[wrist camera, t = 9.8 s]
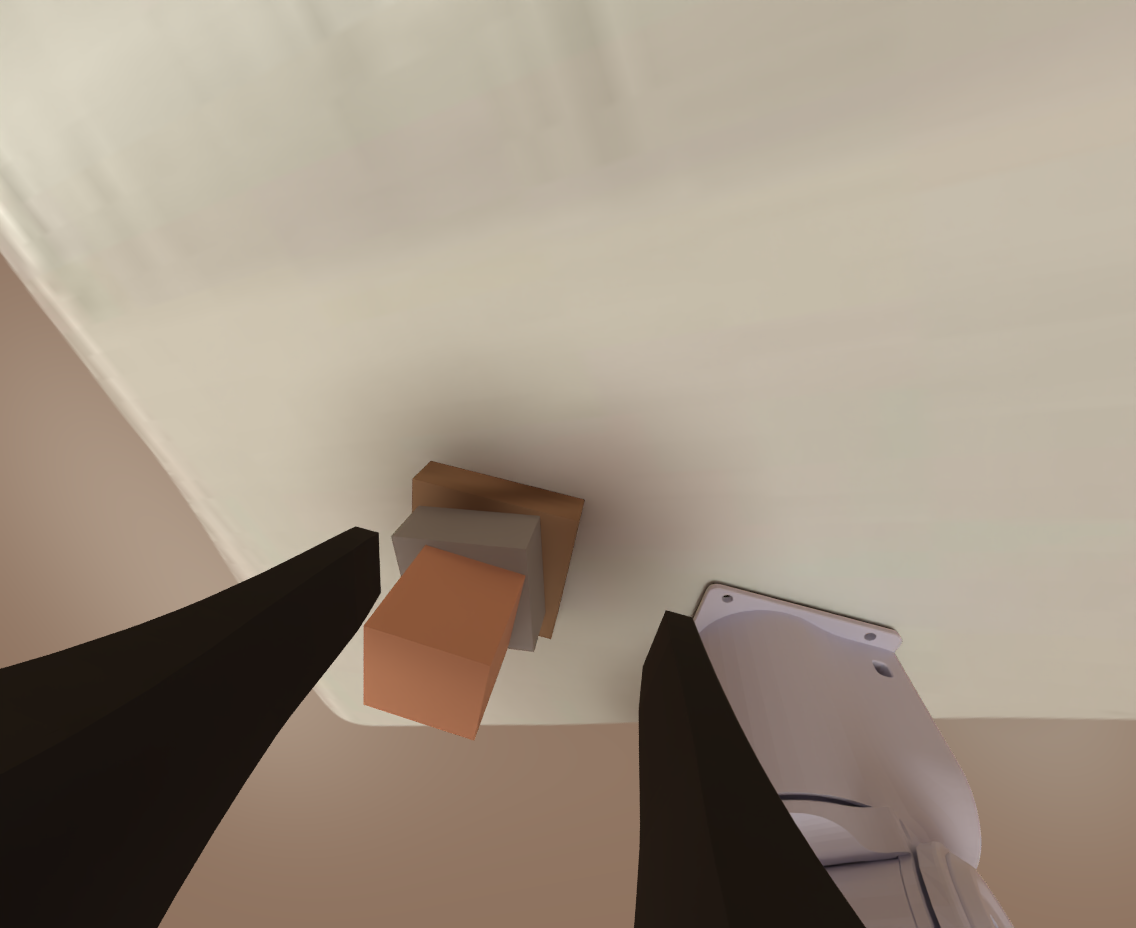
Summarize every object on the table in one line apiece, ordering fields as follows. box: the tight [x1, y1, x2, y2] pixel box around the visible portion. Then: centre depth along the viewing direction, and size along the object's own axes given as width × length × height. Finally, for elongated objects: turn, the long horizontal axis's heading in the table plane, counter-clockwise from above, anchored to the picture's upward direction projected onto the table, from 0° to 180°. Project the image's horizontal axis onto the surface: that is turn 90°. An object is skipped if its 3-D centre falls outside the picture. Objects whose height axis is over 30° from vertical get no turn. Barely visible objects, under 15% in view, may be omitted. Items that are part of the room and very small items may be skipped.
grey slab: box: [391, 506, 545, 652], centre depth 21 cm, size 6×6×2 cm
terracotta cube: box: [364, 545, 526, 740], centre depth 18 cm, size 4×4×4 cm
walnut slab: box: [412, 461, 584, 639], centre depth 23 cm, size 8×8×2 cm
